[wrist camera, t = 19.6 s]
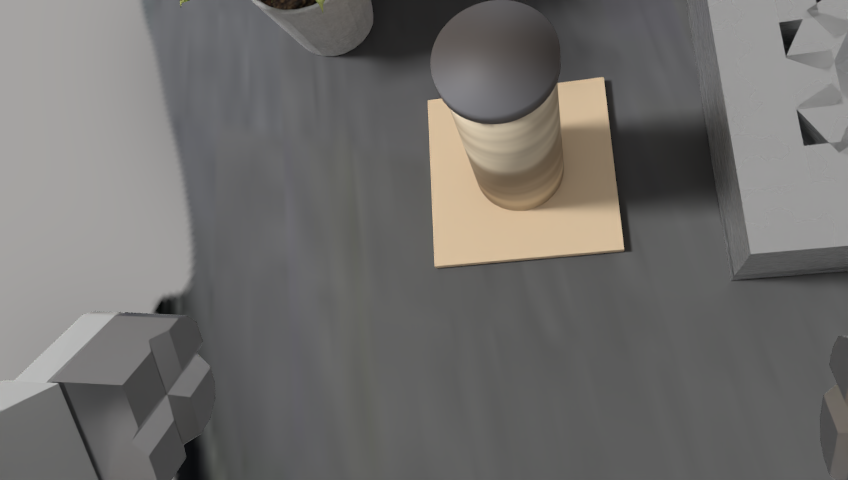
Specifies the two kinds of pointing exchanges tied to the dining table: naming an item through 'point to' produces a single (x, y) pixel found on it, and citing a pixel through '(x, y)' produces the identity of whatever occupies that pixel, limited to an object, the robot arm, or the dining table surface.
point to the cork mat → (541, 226)
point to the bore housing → (777, 130)
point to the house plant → (322, 22)
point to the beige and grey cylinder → (504, 99)
